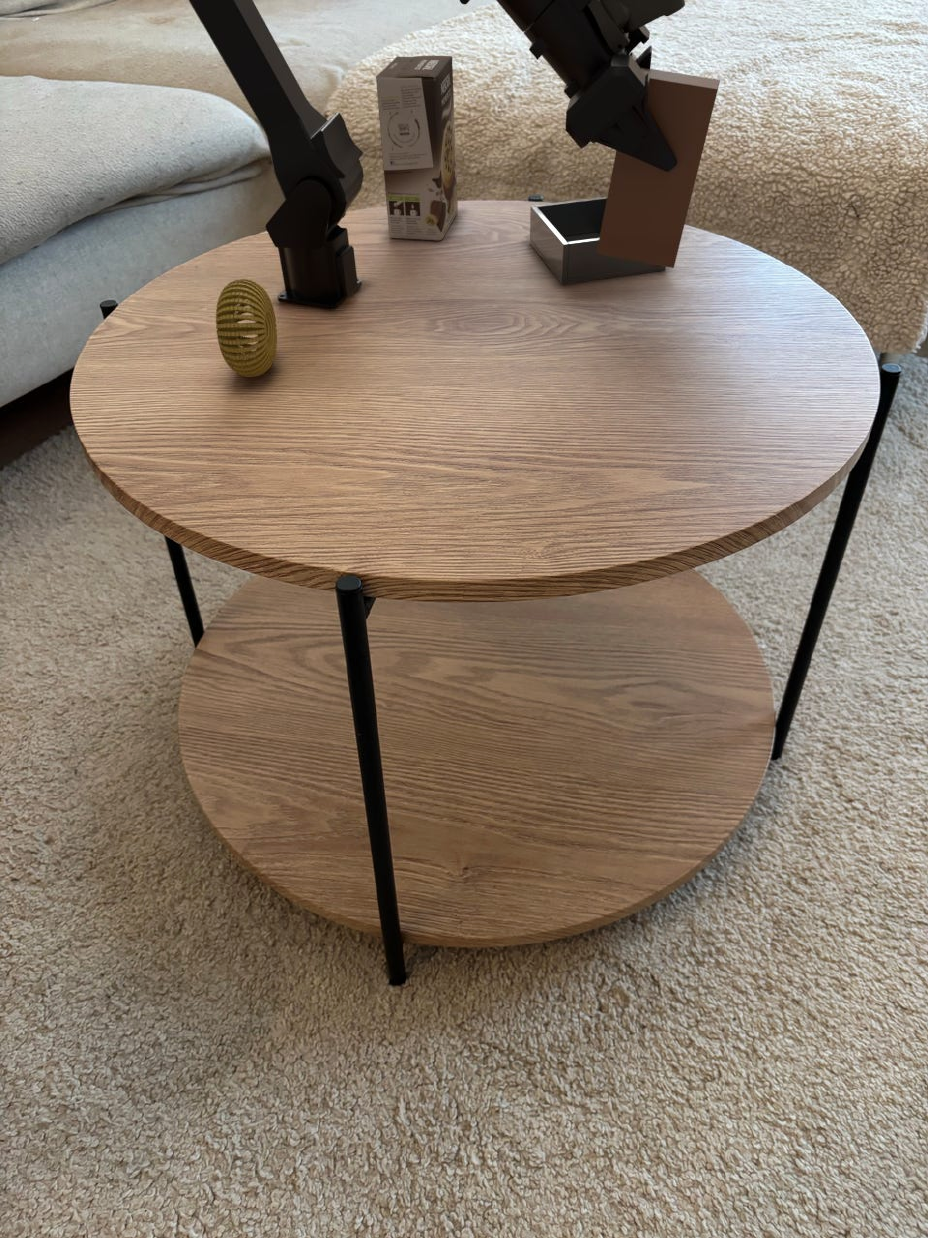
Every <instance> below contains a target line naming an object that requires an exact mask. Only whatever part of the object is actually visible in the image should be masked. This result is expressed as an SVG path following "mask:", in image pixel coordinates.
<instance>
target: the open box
mask: <svg viewBox="0 0 928 1238" xmlns="http://www.w3.org/2000/svg"><path fill="white" fill-rule="evenodd" d="M607 196H608V195H606V196H598V197H591V198H581V199H574V200H566V201H557V202H550V203H549V202H548V203H541V204H533V205H530V214H529V215H530V216H529V217H530V221H529V244H530V246H531V247H532V248H533V250H535V252H536V254H538V256H539V257H540V259H541V260H542V261H543V263H544V264H545V265H546V266H547V267H548V269H549V270H550V272H551V273H552V274H553V275H554V276H555V278H556V279H557V280H558V282H559V283H560V284H561V285H569V284H575V283H582V282H589V281H590V282H591V281H597V280H602V279H603V280H604V279H605V280H606V279H611V278H619V277H627V276H633V275H641V274H646V273H655V272H661V271H666V269H667V267H665V266H660V265H654V264H649V263H644V262H639V261H633V260H628V259H623V258H617V257H612V256H607V255H601V254H597V249H598V243H599V238H600V233H601V228H602V222H603V217H604V212H605V207H606V202H607Z"/></svg>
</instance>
